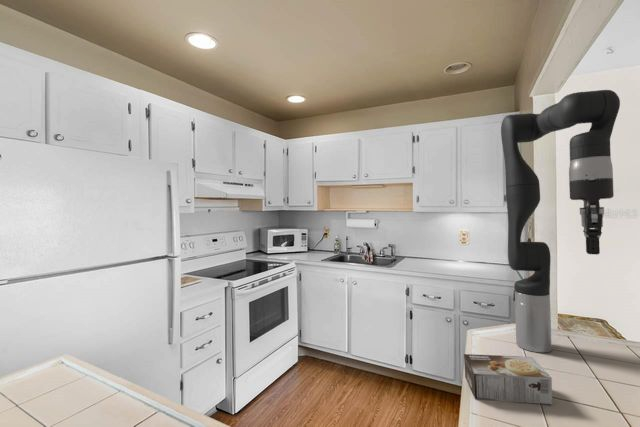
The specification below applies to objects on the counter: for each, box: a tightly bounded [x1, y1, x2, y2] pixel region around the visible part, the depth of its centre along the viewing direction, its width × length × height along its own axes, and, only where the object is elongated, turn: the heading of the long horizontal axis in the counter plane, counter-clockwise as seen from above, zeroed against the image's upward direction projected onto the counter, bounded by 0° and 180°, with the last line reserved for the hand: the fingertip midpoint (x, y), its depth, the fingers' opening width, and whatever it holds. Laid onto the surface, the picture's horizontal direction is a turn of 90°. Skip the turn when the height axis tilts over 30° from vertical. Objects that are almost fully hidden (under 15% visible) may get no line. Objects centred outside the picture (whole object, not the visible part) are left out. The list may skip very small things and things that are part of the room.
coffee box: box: [463, 353, 553, 405], centre depth 73 cm, size 9×6×16 cm
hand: (592, 253), depth 70 cm, fingers closed
